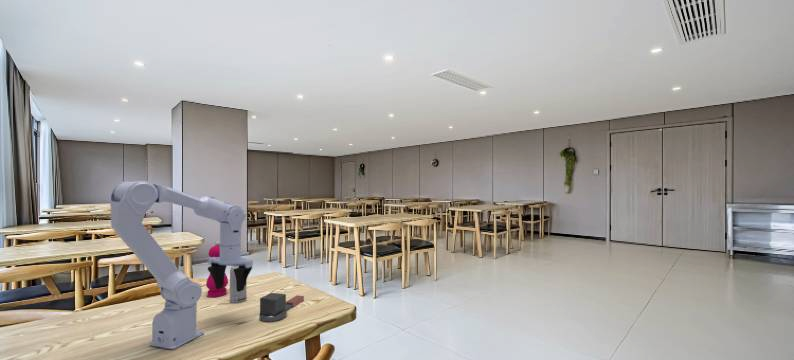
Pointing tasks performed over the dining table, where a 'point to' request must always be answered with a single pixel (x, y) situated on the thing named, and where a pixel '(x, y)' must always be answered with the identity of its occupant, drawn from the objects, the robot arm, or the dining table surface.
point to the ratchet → (281, 316)
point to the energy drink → (234, 295)
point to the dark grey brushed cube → (272, 304)
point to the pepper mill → (210, 283)
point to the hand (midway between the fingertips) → (229, 289)
